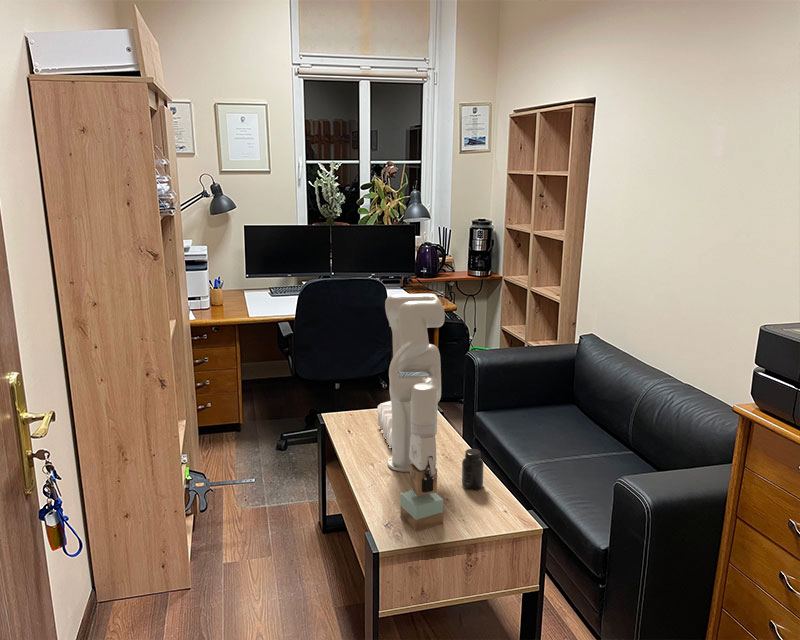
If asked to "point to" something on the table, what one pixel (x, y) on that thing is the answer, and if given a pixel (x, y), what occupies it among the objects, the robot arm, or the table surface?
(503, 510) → the table surface
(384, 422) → the wavy white extrusion
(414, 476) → the walnut block
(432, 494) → the tower top slab
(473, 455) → the supplement bottle
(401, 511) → the tower base slab
